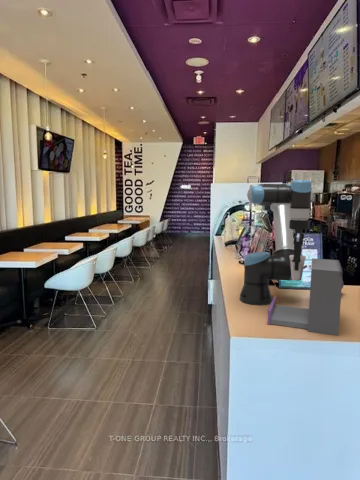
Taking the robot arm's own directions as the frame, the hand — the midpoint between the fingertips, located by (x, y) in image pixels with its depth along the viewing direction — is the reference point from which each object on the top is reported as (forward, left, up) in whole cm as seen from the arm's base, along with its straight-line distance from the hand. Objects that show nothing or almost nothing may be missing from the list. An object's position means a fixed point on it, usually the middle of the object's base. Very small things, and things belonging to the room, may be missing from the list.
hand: (296, 276), depth 141 cm
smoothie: (0, 0, -2) cm, 2 cm away
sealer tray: (-2, 0, -18) cm, 18 cm away
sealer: (+11, 0, -18) cm, 21 cm away
